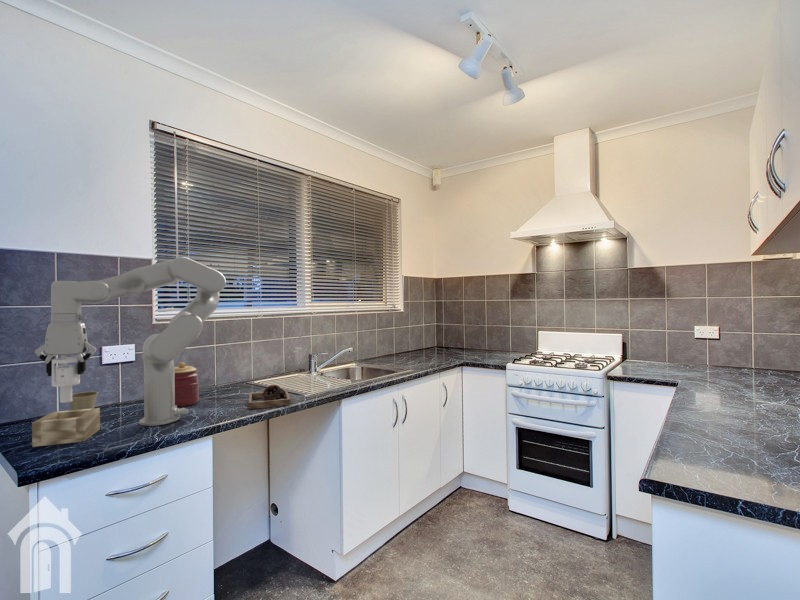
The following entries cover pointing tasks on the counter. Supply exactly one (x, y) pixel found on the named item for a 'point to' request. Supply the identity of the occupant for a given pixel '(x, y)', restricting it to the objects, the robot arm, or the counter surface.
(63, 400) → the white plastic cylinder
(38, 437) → the beech holder block
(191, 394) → the canister
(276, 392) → the dark brown rounded lump
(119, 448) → the counter surface
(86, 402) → the flower pot
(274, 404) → the wooden tray
